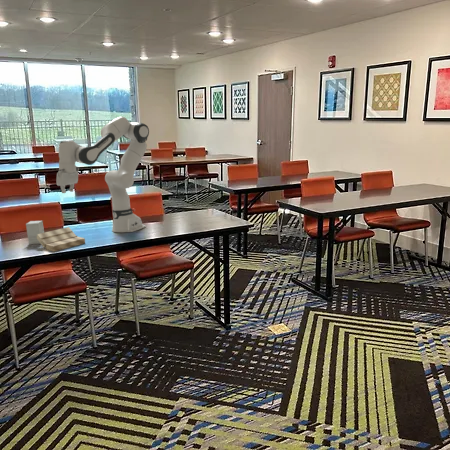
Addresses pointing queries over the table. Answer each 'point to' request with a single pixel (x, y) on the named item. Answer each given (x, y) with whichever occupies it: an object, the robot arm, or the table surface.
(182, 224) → the table surface
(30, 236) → the supplement box
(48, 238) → the tan quilted pad
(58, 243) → the laid board
